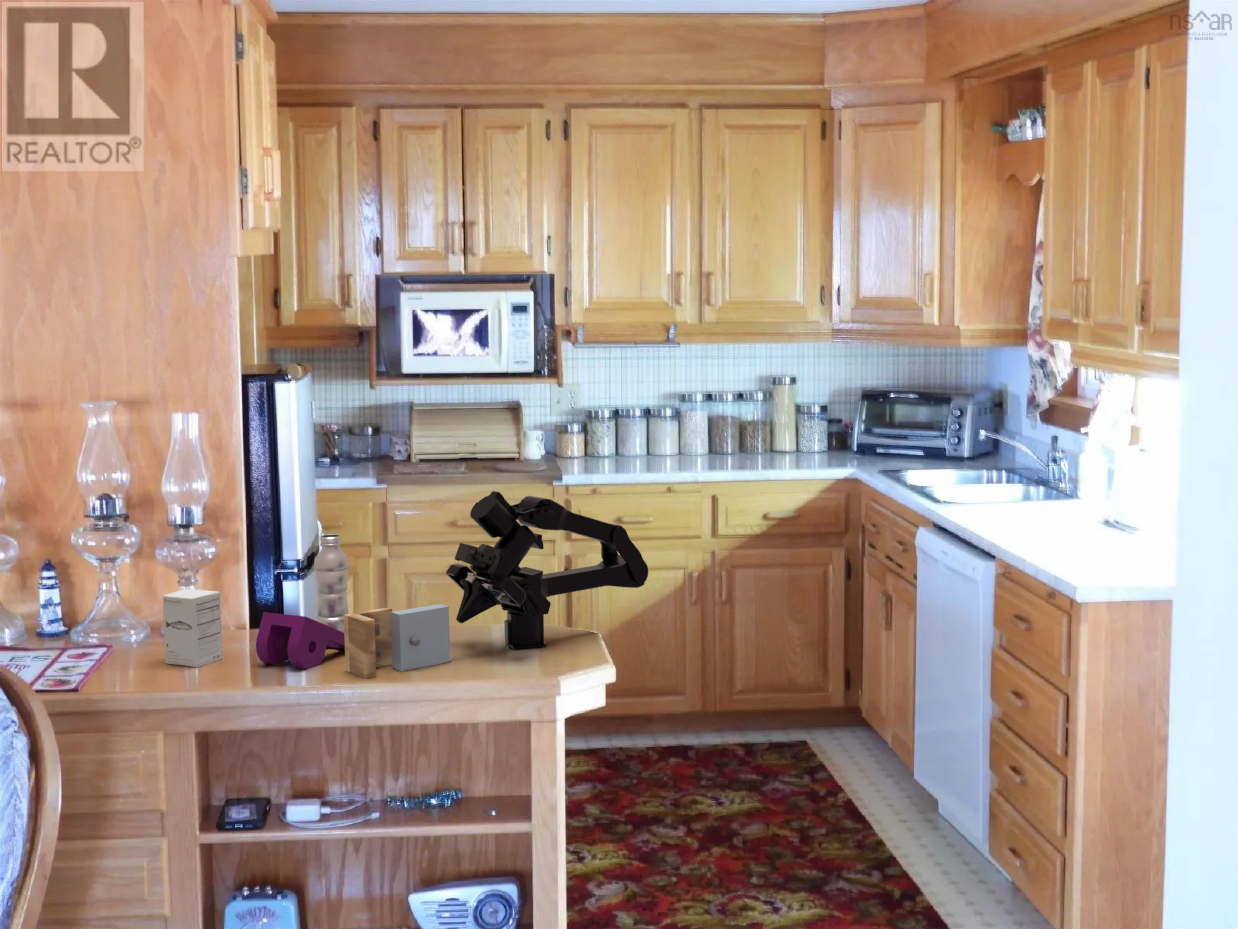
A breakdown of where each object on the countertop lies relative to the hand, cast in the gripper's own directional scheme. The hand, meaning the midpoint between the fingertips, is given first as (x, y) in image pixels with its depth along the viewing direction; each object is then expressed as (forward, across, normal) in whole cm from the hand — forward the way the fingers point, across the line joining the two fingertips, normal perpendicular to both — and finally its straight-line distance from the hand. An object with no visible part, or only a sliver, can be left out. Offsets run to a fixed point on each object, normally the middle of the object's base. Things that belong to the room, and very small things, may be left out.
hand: (458, 621), depth 266 cm
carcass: (+16, -2, -7) cm, 17 cm away
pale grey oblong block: (+10, 0, -1) cm, 10 cm away
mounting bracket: (+19, -18, -10) cm, 28 cm away
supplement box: (+31, -30, -22) cm, 48 cm away
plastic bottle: (+12, -28, -3) cm, 31 cm away
